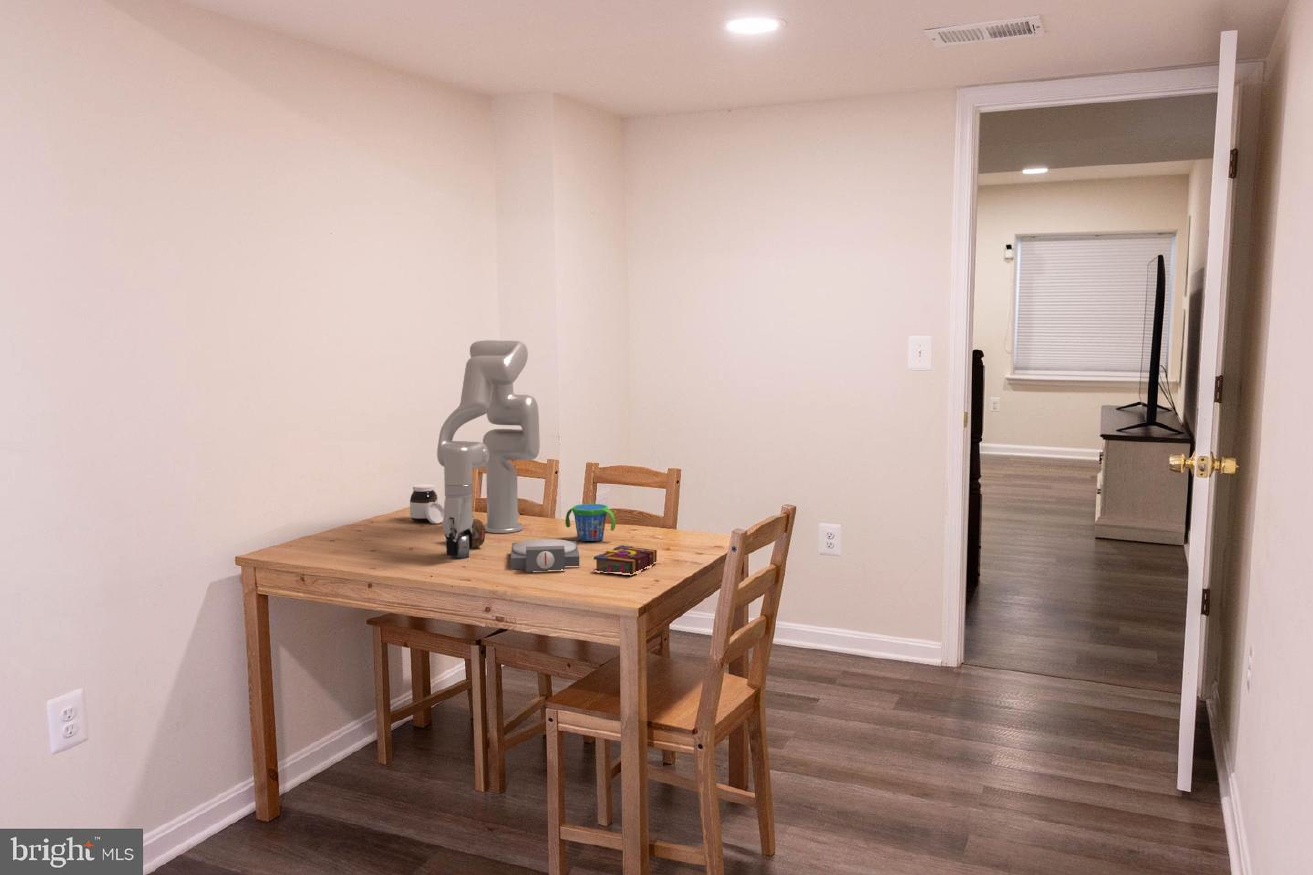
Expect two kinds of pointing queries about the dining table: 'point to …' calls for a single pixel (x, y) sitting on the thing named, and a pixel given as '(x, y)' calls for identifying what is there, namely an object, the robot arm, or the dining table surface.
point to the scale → (544, 555)
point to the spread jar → (425, 505)
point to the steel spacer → (462, 547)
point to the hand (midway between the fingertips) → (459, 551)
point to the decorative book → (625, 559)
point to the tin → (477, 533)
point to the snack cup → (590, 521)
